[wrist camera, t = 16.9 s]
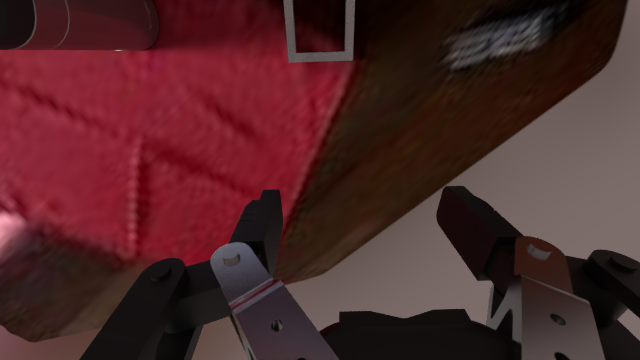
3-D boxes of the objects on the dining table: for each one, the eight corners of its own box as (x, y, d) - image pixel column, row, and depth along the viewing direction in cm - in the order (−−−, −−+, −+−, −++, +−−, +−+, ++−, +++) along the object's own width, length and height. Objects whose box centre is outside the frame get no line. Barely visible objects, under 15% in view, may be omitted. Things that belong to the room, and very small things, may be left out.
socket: (290, 61, 37) (288, 62, 35) (284, -16, 32) (281, -20, 31) (351, 60, 37) (352, 60, 35) (353, -19, 32) (355, -23, 30)
